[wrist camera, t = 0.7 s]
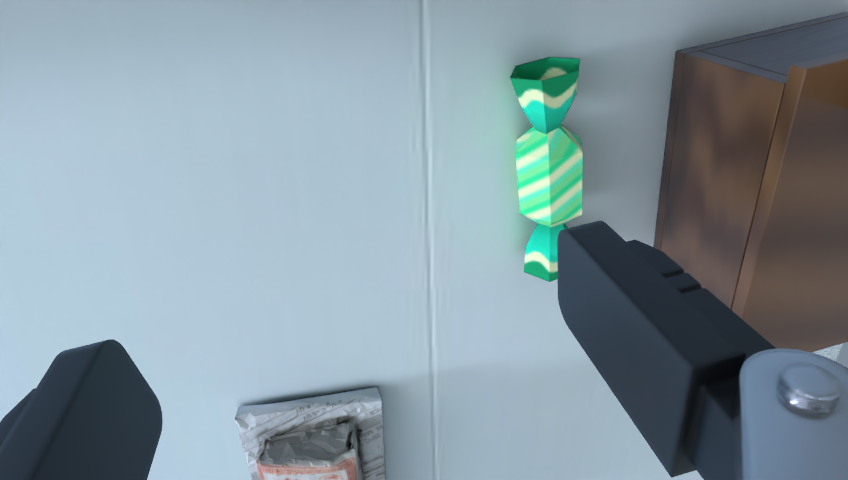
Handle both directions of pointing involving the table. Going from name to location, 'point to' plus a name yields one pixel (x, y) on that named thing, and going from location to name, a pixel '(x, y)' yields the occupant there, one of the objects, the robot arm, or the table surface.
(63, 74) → the table surface
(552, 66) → the candy
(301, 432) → the packaged product
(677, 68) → the chest
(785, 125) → the lid
